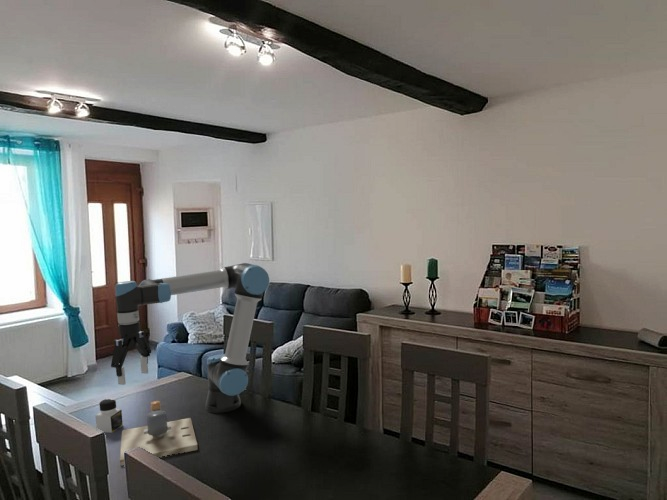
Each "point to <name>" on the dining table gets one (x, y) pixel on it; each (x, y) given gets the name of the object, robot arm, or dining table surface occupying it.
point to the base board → (161, 439)
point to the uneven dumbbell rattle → (156, 420)
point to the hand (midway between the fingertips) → (133, 378)
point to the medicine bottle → (109, 416)
